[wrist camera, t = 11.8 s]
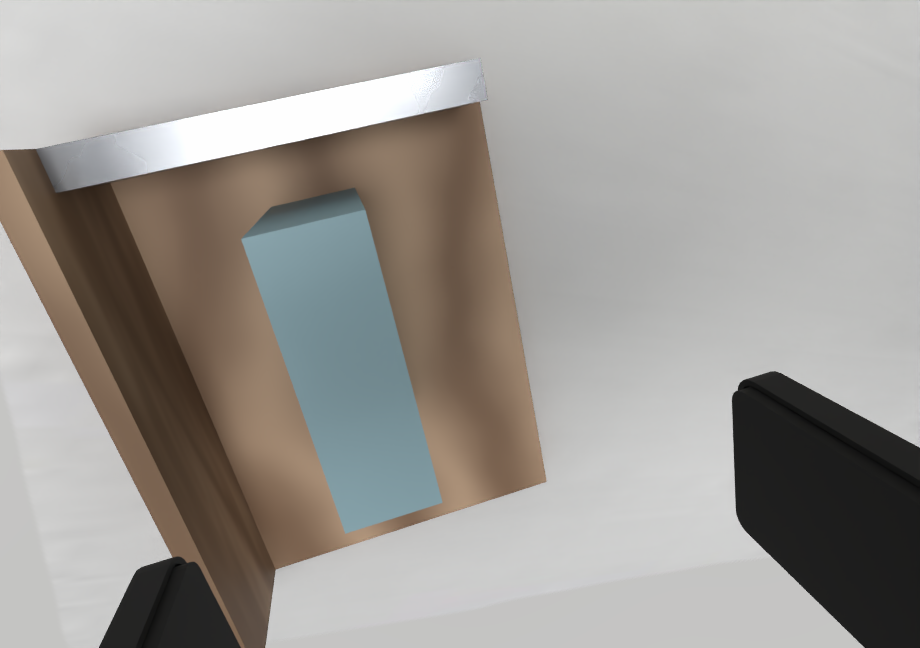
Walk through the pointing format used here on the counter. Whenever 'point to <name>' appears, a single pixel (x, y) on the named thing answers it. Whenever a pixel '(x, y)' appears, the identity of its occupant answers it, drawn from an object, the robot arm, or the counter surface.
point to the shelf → (246, 320)
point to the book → (343, 355)
